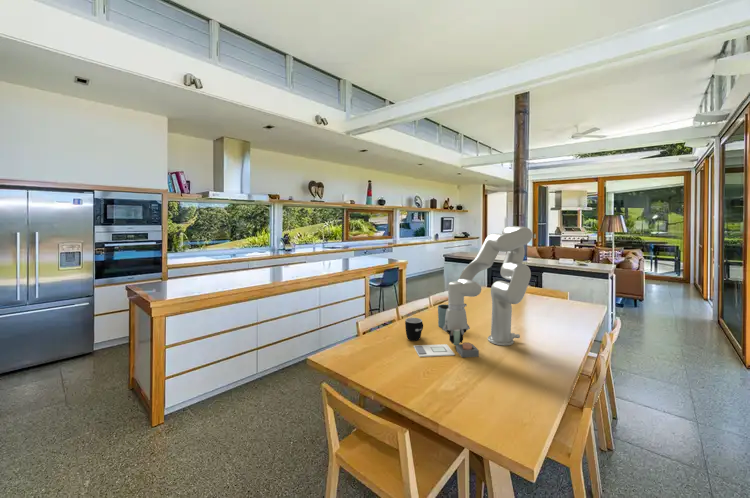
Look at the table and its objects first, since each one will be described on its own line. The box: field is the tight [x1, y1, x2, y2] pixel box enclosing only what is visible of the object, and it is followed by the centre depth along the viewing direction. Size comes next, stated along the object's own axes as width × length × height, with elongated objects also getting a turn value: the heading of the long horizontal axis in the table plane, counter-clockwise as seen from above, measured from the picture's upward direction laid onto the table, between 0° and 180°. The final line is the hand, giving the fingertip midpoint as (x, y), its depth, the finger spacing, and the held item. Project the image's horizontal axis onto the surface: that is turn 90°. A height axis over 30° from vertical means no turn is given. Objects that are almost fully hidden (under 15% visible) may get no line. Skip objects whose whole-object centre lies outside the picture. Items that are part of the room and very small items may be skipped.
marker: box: [453, 329, 461, 346], centre depth 167 cm, size 4×4×8 cm
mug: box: [404, 317, 424, 342], centre depth 178 cm, size 12×9×10 cm
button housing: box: [455, 343, 480, 358], centre depth 159 cm, size 8×8×3 cm
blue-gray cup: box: [437, 303, 449, 330], centre depth 196 cm, size 10×10×12 cm
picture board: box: [413, 343, 456, 358], centre depth 162 cm, size 17×12×1 cm
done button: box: [462, 342, 473, 350], centre depth 159 cm, size 4×4×3 cm
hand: (456, 341), depth 168 cm, fingers closed on marker, 3 cm apart
